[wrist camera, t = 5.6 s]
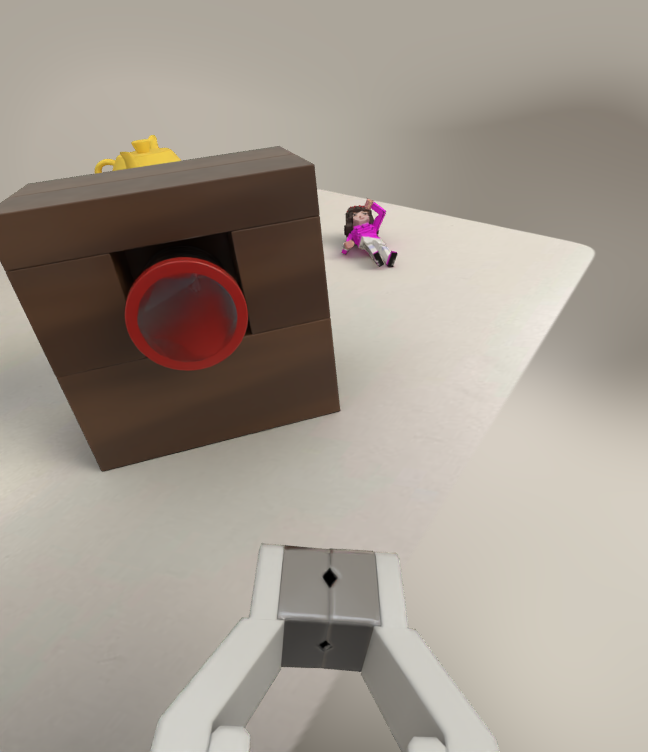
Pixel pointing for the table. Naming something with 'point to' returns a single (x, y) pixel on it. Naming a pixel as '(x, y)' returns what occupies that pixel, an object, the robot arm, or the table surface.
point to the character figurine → (367, 233)
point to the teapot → (140, 156)
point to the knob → (185, 309)
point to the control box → (124, 265)
